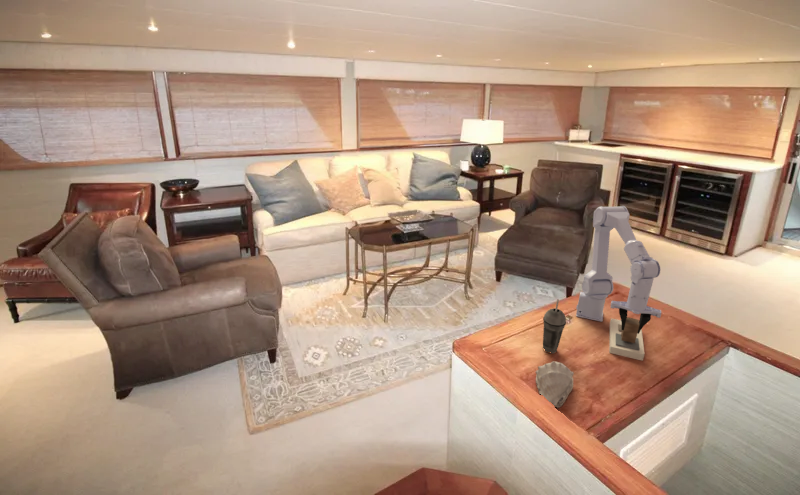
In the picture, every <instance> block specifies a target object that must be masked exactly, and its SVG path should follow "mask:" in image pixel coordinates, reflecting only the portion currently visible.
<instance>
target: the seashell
mask: <svg viewBox="0 0 800 495" xmlns="http://www.w3.org/2000/svg"><path fill="white" fill-rule="evenodd" d="M535 374H536V375H535V385H536V388H537V391H538V393H539V395H540V394H541V395H543V396H544V397H545V398H546V399H547V400H548V401H549V402H551V403H552V404H553V405H554V406H555V407H557V408H558V409H559V408H561V407H563V405H564V403H566V401H567V398H568V396H569V395H570V393H571V392H572V390H573V388H574V374H575V373H574V371H571V369H570V368H569V367H568V366H566V365H565V364H564V363H562V362H558V361H554V360H553V361H551V362H548V363H547V362H546V363H544V364H543V365H539V366H537V370H535ZM555 407H554V408H555ZM557 408H556V409H557Z"/></svg>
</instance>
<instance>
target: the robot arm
mask: <svg viewBox="0 0 800 495" xmlns="http://www.w3.org/2000/svg"><path fill="white" fill-rule="evenodd" d="M592 218H593V219H592V227H593V228H594V232H593V249H592V263H591V270H589V271H588V272H587V273H586V274H584V276H583V280H582V283H581V290H582V291H579V292H580V293H579V295H578V296H579V297H578V301H577V302H578V303H577V304H576V307H575V309H576V314H575V316H576V317H578V318H583V319H588V320H593V321H597V322H603V320H604V308H605V303H606V298H608V297H609V295H612V294H613V291H614V282H613V276H612V275H611V274H610V273H608V260H609V250H610V249H609V247H610V234H611V231H612V230H613V229H615V230H616V232H617V234H618V235H619V236H620V238H621V240H622V241H623V243H624V247H623V250H624V252H625V254H626V256H627V258H628V260H629V262H630V264H631V265H630V273H631V274H630V275H631V276H630V281H631V283H630V288H629V291H628V296H627V300H626V301H618V300H617V301H616V300H611V302H610V309H618V314H619V317H620V320H621V322H622V326H621V330H624V327H625V322H626V318H627V317H628V311H629V312H632V314H635V315H640V316H639V319H638V320H639V329H638V334H639V333H640V331H641V329H642V330H643V328H644V326H646V325H647V324H648V323H649V322H650V321H651V319H652V316H653V317H656V318H659V319H661V316H662V310H661V309H657V308H654V307H651V306H649V305H647V304H648V303H649V302H648V301H649V298H650V293H651V290H652V286H653V283H654V279H655V278H658V277H659V276H660V275H661V265H660V262H659V261H658V260H656V259H654V258H653V257H652V256H650V254H649V253H648V251H647V249H646V247H645V246H644V243H643V242H642V241H640V240H637V239H636V236H635V233H634V231H633V228H632V226H631V224H630V222H629V220H630V212H629V210H628V208H627V207H626V206H625V205H621V206H598V207H597V208H595V209H594V211H593V216H592Z"/></svg>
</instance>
